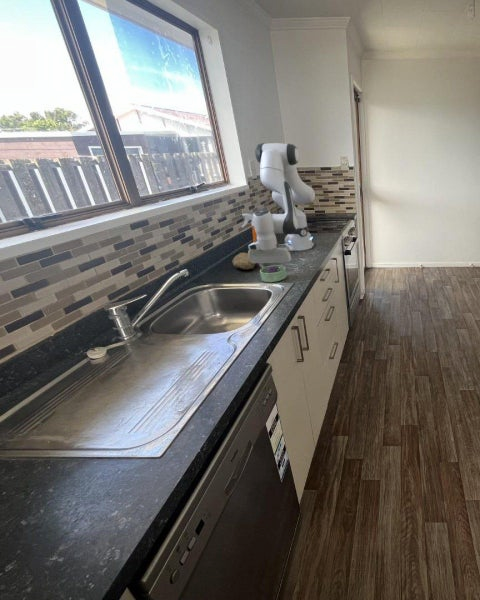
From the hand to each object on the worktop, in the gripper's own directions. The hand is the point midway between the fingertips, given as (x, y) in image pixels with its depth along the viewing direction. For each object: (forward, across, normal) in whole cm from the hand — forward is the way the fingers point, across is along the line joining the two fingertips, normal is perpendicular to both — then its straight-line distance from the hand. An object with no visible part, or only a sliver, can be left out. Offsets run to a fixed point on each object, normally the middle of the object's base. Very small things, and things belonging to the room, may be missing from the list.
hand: (272, 270), depth 166 cm
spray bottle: (+4, +23, -37) cm, 44 cm away
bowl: (+4, 0, 0) cm, 4 cm away
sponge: (+4, +23, -18) cm, 29 cm away
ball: (+1, 0, 0) cm, 1 cm away
